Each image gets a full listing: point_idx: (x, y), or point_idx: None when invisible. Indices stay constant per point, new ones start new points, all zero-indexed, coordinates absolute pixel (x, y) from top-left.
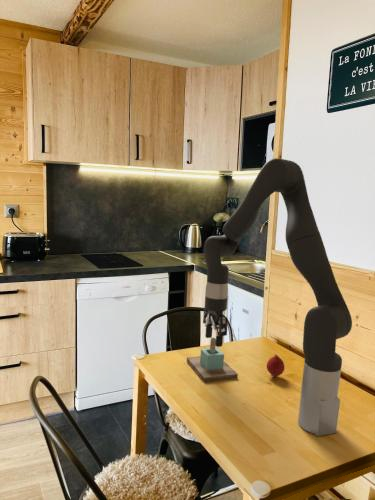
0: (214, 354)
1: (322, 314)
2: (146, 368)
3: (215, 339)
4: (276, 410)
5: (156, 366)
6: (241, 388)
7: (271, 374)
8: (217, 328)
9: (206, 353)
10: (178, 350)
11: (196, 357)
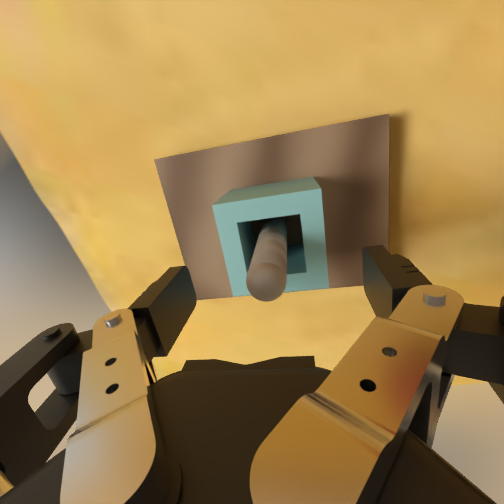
0: (315, 248)
1: None
2: None
3: (275, 273)
4: None
5: None
6: (489, 128)
7: None
8: (439, 416)
9: (296, 286)
10: (104, 296)
11: (193, 264)
